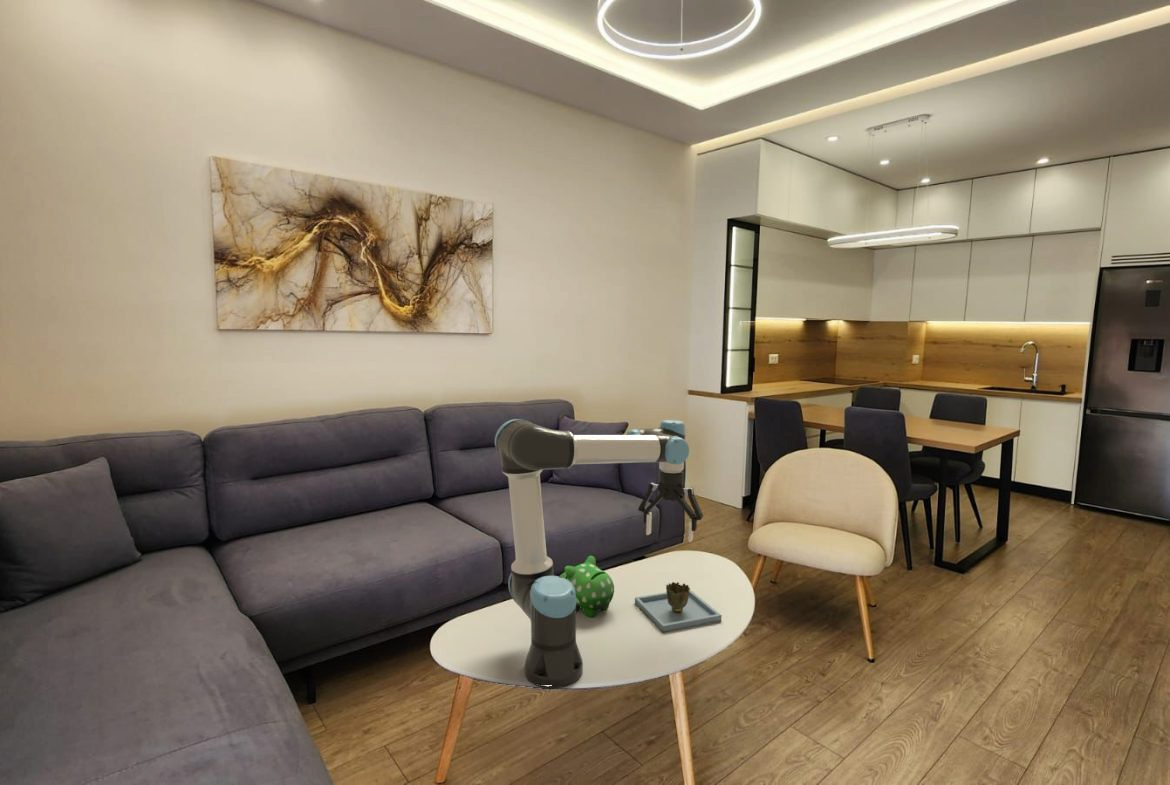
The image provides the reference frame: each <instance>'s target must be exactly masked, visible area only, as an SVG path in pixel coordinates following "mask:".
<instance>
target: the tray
mask: <svg viewBox="0 0 1170 785" xmlns="http://www.w3.org/2000/svg"><path fill="white" fill-rule="evenodd" d="M634 604H635V605H636V607H638V608H639V609H640V611H642V612H643V614H644V615H645V616H647V618H648V619H649V620H650V621H651V622H652V623H654V625H655V626H656V627H657V628H658V629H659V630H660V631H661V632H662V633H668V632H673V631H678V630H683V629H689V628H690V629H691V628H694V627H698V626H699V627H700V626H705V625H710V624H716V623H720V622H722V614H721V613H720V612H718V611H717V610H716V609H715V608H713V607H712V606H711V605H709V604H708V603H707V602H706V601H705V600H703V599H702V598H701V597H700V596H699V595H697V594H696V593H695V592H693V591H692V590H691V589H690V591H689V598H688V602H687V604H686V606H685V607H683V611H682V612H680V613H675V612H673V611H672V609H671V606H670V605H669V603H668V600H667V592H660V593H655V594H650V595H649V594H648V595H642V596H637V597H634Z"/></svg>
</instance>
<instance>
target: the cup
mask: <svg viewBox="0 0 1170 785" xmlns="http://www.w3.org/2000/svg"><path fill="white" fill-rule="evenodd" d="M665 590H666V592H667V600H668V603H669V605H670V606H671V609H672V611H673V612H675V613H680V612H682V611H683V607H685V606H686V604H687V602H688V598H689V591H690V590H691V587H690V586H689V584H686V583H682V584H680V582H679V581H678V582H674V581H672V582H671V583H670V582H669V583H668V584H665Z"/></svg>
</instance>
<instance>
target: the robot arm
mask: <svg viewBox="0 0 1170 785" xmlns="http://www.w3.org/2000/svg"><path fill="white" fill-rule="evenodd" d="M494 446H495V450H496V452H497V453H498V455H499V456H500V462H501V473H502V474H504V475H505V476H506V477H507V479H508V489H509V498H510V509H511V521H512V530H513V531H512V533H513V542H514V543H513V544H514V552H515V560H514V561H513V562H512V563H511V565H510V567H511V568H510V569H511V573H510V574H509V576H508V583H507V584H508V591H509V593H510V596H511V598H512V600H513V601H514V603H515V604H516V605H518V606H519V608H520V609H521V610H522V611H523V613H524V614H525V615H526V616H527V618H529V620H530V637H531V638H530V639H531V641H530V646H529V649H528V651H527V656H526V658H525V662H524V675H525V677H526V679H527V680H528V681H529V682H530V683H532V684H533V685H536V686H538V685H540V686H539V687H542V688H544V687H543V686H541V685H552V686H549V687H553V688H554V687H556V688H562V686H563V687H566V686H565V685H567V686H569V685H571V684H574V683H575V682H577V681H578V680H579V679H580V678H581V677H582V675H583V668H584V667H583V664H584V663H583V658H582V656H581V652H580V650H579V649H580V648H579V646H578V644H577V611H576V594H575V588H574V586H573V584H572V583H571V582H570V581H568V580H567V579H565V578H560V575H559V576H557V575H555V574H554V572H555V571H554V562H553V559H552V558H550V557H549V556H548V555H547V546H546V545H547V544H546V543H547V542H546V532H545V521H544V511H543V509H544V508H543V497H542V484H541V473H542V472H543V471H545V470H547V471H548V470H561V469H564V470H565V469H570V468H572V466H573V465H592V464H593V465H594V464H595V465H596V464H600V465H601V464H625V463H626V464H629V463H631V464H632V463H659V466H658V467H659V468H658V469H659V471H658V484H656V483H655V482H650V483H649V484H648V488H647V489H648V490H647V492H646V494H645V495H644V497H643V499H642V501H641V503H640V505H639V506H638V508H637V509H638V511H639V512H642V513H643V523H644V524H645V525H646V528H645V532H646V534H645V535H646V536H649V535H650V534H652V518H653V515H652V514H653V513H652V512H650V511H651V510H652V509H654V507H655V506H656V505H657V504H659V502H660V501H661V500H662V499H664V501H672V502H677V503H678V504H679V505H680V506H681V507H682V508H683V510H684V512H685V513H686V514H687V516H688V517H689V520H688V538H687V540H688V541H687V542H688V543H692V542H693V540H694V532H695V531H697V528H698V526H697V525H698V521H701V520H702V519H703V518H704V513H703V512H702V510H701V508H700V505H699V503H698V501H697V498H696V496H695V490H694V487H693V486H690V487H684V479H685V478H684V474H685V472H684V471H683V470H684V469H685V461H686V460H687V459H688V458H689V454H690V445H689V443H688V442H687V440H686V425H685V423H684V422H683V421H682V420H675V419H666V420H661V421H660V425H659V427H655V428H654V427H653V428H635V429H629V430H628V431H626V433H625V434H573V433H572V432H571V431H569V430H556V429H550V428H547V427H544V426H541V425H538V424H537V423H536V424H535V423H533V422H531V421H529V420H527V419H520V418H515V419H514V418H513V419H510V420H507V421H506V422H504V423H503V424H501V426H500V427H499V428H498V429H497V431H496V434H495V436H494ZM656 490H657V491H658V492H659V494H658V495H657V496H656V498H655V499H654V500H653V501H652V502H651V503H650V504H649V505H648V506H647V504H648V502H649V500H650V499H651V496H653V493H654V491H656ZM684 493H685V495H686V496H687V497H688V500H689V502H687V501H686V498H685V496H684V495H683V494H684ZM689 503H690V505H691V506H690V505H689ZM646 506H647V507H646ZM537 684H538V685H537ZM553 688H552V689H553ZM554 689H555V688H554Z"/></svg>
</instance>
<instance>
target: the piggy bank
mask: <svg viewBox="0 0 1170 785" xmlns="http://www.w3.org/2000/svg"><path fill="white" fill-rule="evenodd" d="M596 564H597V562H596V558H595V556H592V555H589V556H588V557H587V558H586V560H585V561H584V562H583V563H580V564H578V565H575V566H573V565H566V566H565V567H564V572H563V573H561V574H560V575H559V577H560V578H565V579H567V580H568V581H570V582H571V583H572V584H573V586H574V588H575V594H576V612H577V611H579V610H580V609H582V611H583V613H584V615H585V616H586V617H588V618H595V617H597V616H598V615H599V613H600V612H606V611H608V609H609V607H610V603H611V602H612V600H613V598H614V594H615V585H614V582H613V579H612V578H611V576H610V574H608V572H606V571H604V570H602V569H601V568H599V567H598V566H597V565H596ZM599 611H600V612H599Z"/></svg>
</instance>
